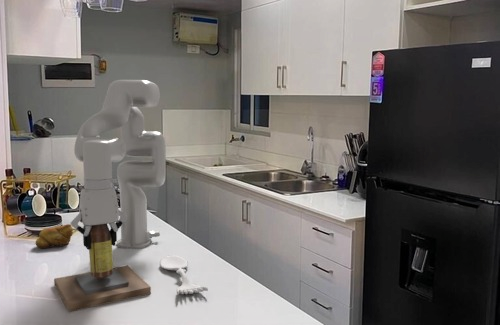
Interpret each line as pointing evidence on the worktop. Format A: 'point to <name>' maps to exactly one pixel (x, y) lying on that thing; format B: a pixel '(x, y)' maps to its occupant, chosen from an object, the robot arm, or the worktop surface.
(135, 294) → the walnut base
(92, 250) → the sauce bottle
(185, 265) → the double-ended spork
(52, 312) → the worktop surface
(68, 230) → the bread roll
